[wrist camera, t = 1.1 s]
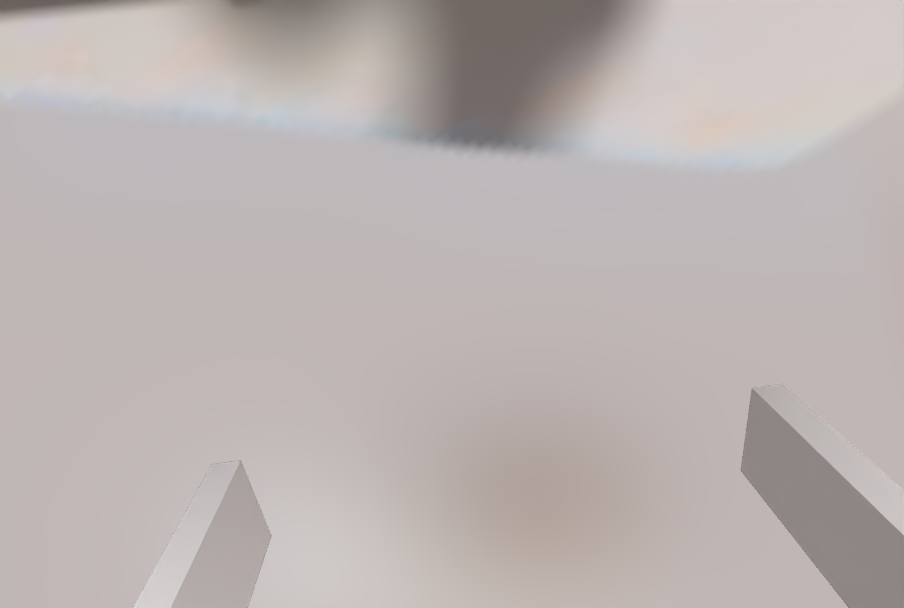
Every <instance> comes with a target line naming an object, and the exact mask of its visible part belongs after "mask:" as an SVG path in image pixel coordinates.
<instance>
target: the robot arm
mask: <svg viewBox="0 0 904 608" xmlns="http://www.w3.org/2000/svg"><path fill="white" fill-rule="evenodd" d="M741 472H742V473H743V474H744V475H745V477H746V478H747V479H748V480H749V482H750V483H751V484H752V486H753V487H754V488H755V490H756V491H757V492H758V493H759V495H760V496H761V497H762V498H763V500H764V501H765V502H766V503H767V505H768V506H769V507H770V508H771V510H772V511H773V512H774V514H775V515H776V516H777V517H778V519H779V520H780V521H781V523H782V524H783V525H784V526H785V527H786V529H787V530H788V531H789V533H790V534H791V535H792V536H793V538H794V539H795V540H796V541H797V543H798V544H799V545H800V547H801V548H802V549H803V550H804V552H805V553H806V554H807V556H808V557H809V558H810V559H811V561H812V562H813V563H814V564H815V566H816V567H817V568H818V569H819V571H820V572H821V573H822V574H823V576H824V577H825V578H826V580H827V581H828V582H829V583H830V585H831V586H832V587H833V589H834V590H835V591H836V592H837V594H838V595H839V596H840V597H841V599H842V600H843V601H844V603H845V604H846V605H847V606H848V608H904V490H903V489H902V488H901V487H899V486H898V485H897V484H896V483H895V482H894V481H893V480H892V479H890V478H889V477H888V476H887V475H886V474H885V473H883V472H882V471H881V470H880V469H879V468H878V467H876V466H875V465H874V464H873V463H872V462H871V461H870V460H869V459H868V458H866V457H865V456H864V455H863V454H862V453H861V452H860V451H858V450H857V449H856V448H855V447H854V446H853V445H852V444H850V443H849V442H848V441H847V440H846V439H845V438H844V437H842V436H841V435H840V434H839V433H838V432H837V431H836V430H835V429H833V428H832V427H831V426H830V425H829V424H828V423H826V422H825V421H824V420H823V419H822V418H821V417H820V416H819V415H817V414H816V413H815V412H814V411H813V410H812V409H811V408H809V407H808V406H807V405H806V404H805V403H804V402H803V401H802V400H800V399H799V398H798V397H797V396H796V395H794V393H792V392H791V391H790V390H789V389H788V388H787V387H786V386H784V385H783V384H775V385H768V386H761V387H754V388H752V391H751V399H750V405H749V413H748V420H747V427H746V435H745V442H744V450H743V457H742V464H741ZM270 539H271V534H270V531H269V529H268V526H267V524H266V521H265V519H264V516H263V514H262V511H261V509H260V506H259V504H258V502H257V499H256V497H255V494H254V492H253V489H252V487H251V484H250V482H249V480H248V477H247V475H246V472H245V469H244V467H243V465H242V462H241V460H238V461H231V462H224V463H217V464H211V466H210V468H209V470H208V472H207V473H206V475H205V477H204V479H203V481H202V482H201V484H200V486H199V488H198V490H197V492H196V494H195V495H194V497H193V499H192V501H191V503H190V504H189V506H188V508H187V510H186V512H185V514H184V515H183V517H182V519H181V521H180V523H179V525H178V527H177V529H176V530H175V532H174V534H173V536H172V538H171V539H170V541H169V543H168V545H167V547H166V549H165V550H164V552H163V554H162V556H161V558H160V560H159V561H158V563H157V565H156V567H155V569H154V571H153V573H152V574H151V576H150V578H149V580H148V582H147V584H146V585H145V587H144V589H143V591H142V593H141V595H140V596H139V598H138V600H137V602H136V604H135V606H134V607H133V608H248V605H249V602H250V599H251V596H252V593H253V590H254V587H255V584H256V581H257V578H258V575H259V572H260V569H261V566H262V563H263V560H264V557H265V554H266V551H267V548H268V545H269V542H270Z"/></svg>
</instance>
